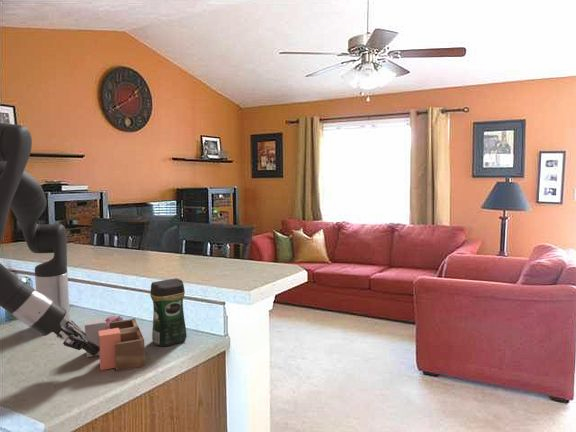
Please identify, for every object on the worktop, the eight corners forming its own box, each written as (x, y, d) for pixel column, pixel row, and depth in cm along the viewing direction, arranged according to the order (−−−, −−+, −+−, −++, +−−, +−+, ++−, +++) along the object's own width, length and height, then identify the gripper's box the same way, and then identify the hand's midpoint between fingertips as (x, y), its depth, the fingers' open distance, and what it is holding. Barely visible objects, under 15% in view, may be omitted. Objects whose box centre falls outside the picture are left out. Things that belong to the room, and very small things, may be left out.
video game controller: (100, 345, 131) (109, 326, 130) (88, 338, 131) (96, 318, 130) (119, 333, 140) (127, 315, 139) (107, 326, 141) (115, 308, 140)
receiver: (110, 345, 127) (109, 322, 126) (135, 341, 130) (134, 318, 129) (116, 371, 111) (115, 344, 110) (145, 365, 114) (144, 339, 113)
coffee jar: (179, 333, 137) (177, 274, 135) (190, 341, 130) (188, 280, 128) (148, 340, 131) (146, 279, 129) (158, 349, 124) (156, 285, 122)
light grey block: (86, 351, 122) (84, 320, 121) (105, 348, 125) (103, 317, 124) (86, 357, 119) (84, 325, 118) (106, 353, 121) (104, 322, 120)
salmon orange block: (99, 364, 115) (98, 330, 114) (120, 360, 117) (118, 327, 116) (100, 370, 111) (99, 336, 110) (121, 366, 113) (120, 332, 112)
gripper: (50, 308, 101) (110, 349, 107) (52, 293, 112) (106, 331, 119) (24, 334, 99) (87, 374, 106) (29, 316, 111) (85, 354, 117)
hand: (97, 351), depth 112 cm, fingers closed
